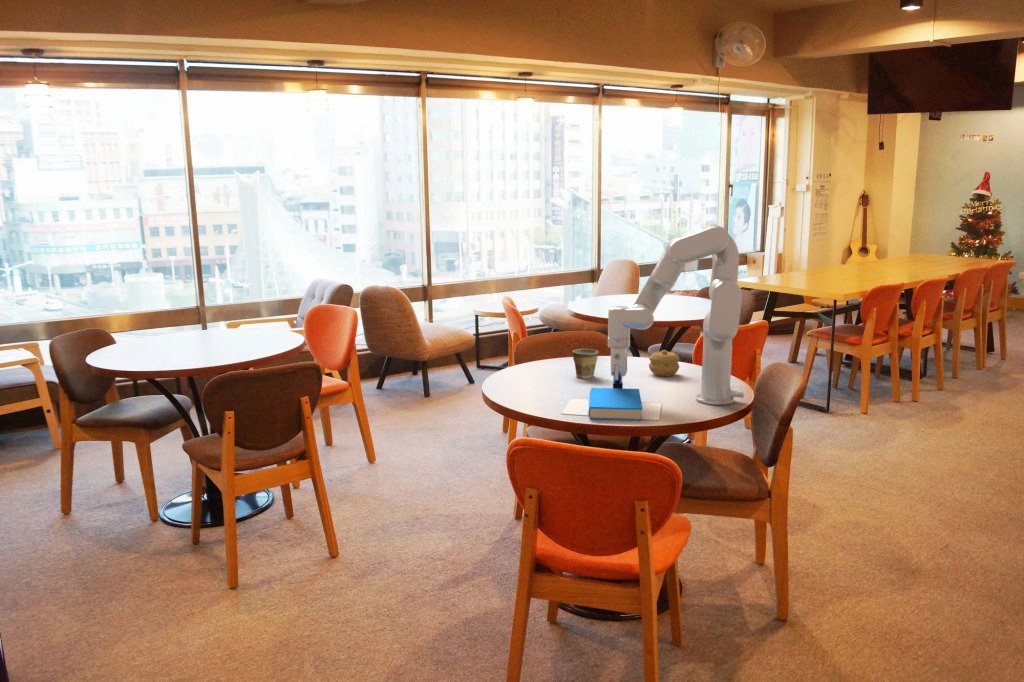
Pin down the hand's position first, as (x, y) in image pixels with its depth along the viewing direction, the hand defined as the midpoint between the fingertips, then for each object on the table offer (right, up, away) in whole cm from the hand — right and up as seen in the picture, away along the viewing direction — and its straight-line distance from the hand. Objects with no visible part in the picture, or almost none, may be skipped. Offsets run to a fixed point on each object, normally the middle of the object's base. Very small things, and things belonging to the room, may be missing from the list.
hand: (617, 394), depth 277 cm
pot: (+23, +5, +35) cm, 42 cm away
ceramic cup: (-8, +5, +34) cm, 35 cm away
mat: (-3, -4, -14) cm, 15 cm away
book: (-3, -4, -14) cm, 15 cm away
